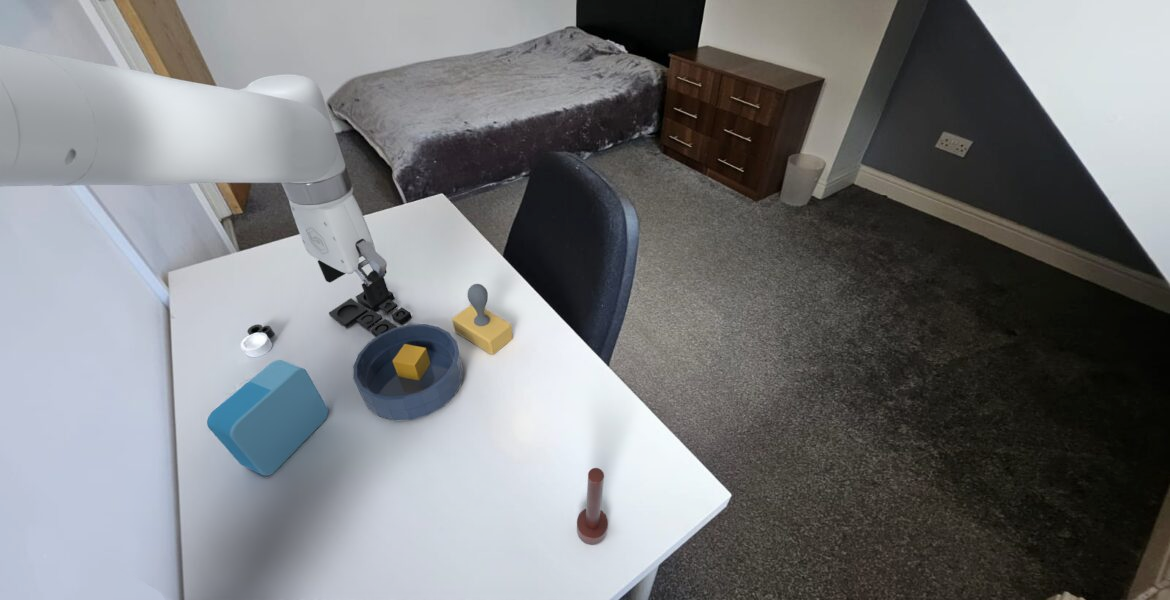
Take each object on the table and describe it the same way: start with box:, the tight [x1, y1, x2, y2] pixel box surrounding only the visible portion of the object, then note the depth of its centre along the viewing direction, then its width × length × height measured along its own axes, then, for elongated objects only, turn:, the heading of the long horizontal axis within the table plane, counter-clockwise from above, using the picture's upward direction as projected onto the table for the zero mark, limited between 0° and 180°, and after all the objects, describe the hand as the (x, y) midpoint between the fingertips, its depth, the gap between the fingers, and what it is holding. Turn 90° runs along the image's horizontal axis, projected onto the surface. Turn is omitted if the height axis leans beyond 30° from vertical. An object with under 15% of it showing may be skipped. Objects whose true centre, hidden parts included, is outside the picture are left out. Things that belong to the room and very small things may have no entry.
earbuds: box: [240, 290, 413, 358], centre depth 87 cm, size 20×25×3 cm
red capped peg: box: [576, 467, 609, 546], centre depth 57 cm, size 4×4×14 cm
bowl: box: [352, 323, 464, 421], centre depth 77 cm, size 16×16×6 cm
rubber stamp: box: [452, 283, 513, 356], centre depth 84 cm, size 10×6×12 cm, turn 54°
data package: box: [206, 359, 329, 476], centre depth 67 cm, size 12×4×12 cm, turn 158°
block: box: [393, 344, 430, 381], centre depth 79 cm, size 4×4×4 cm
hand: (357, 288), depth 70 cm, fingers open, 9 cm apart
